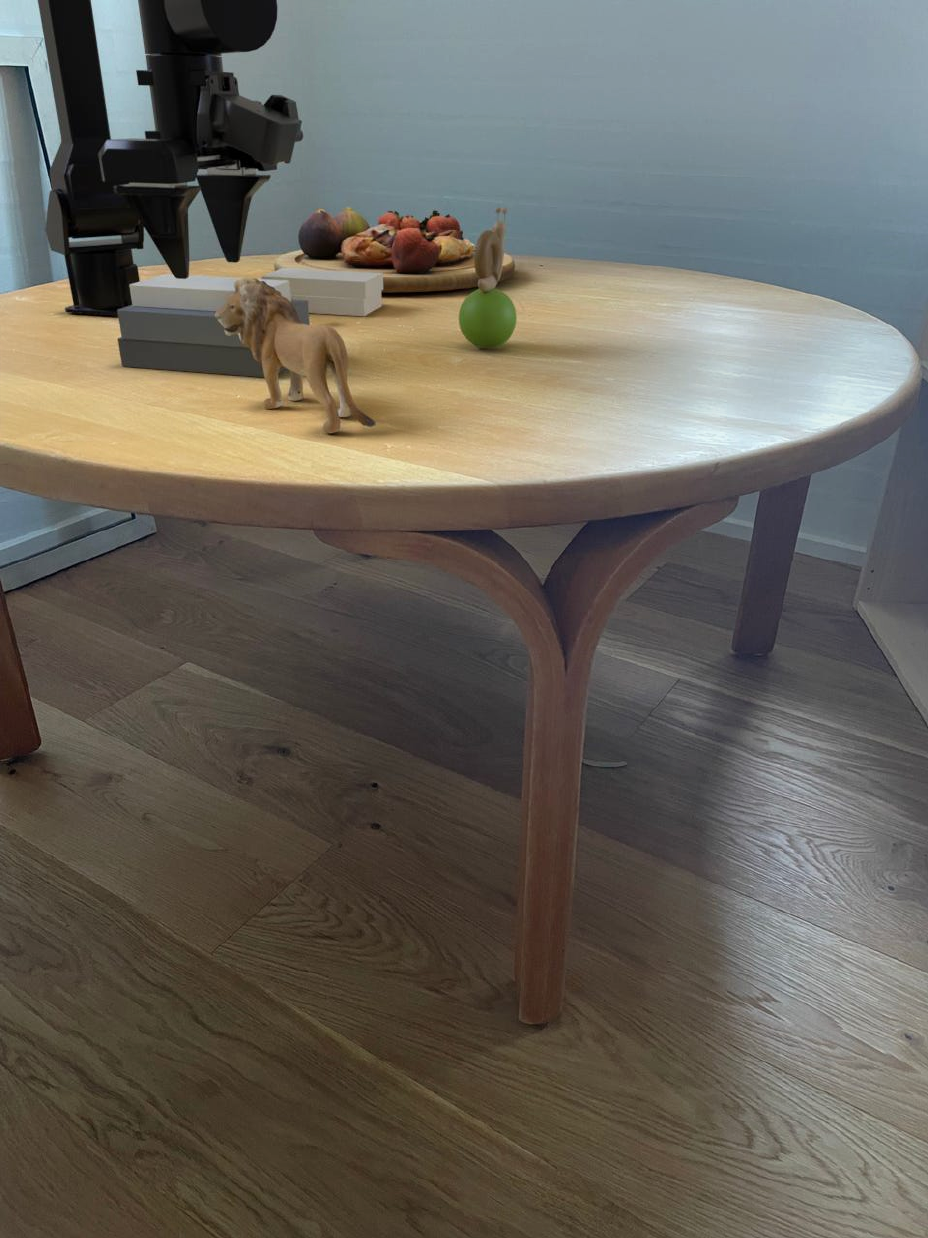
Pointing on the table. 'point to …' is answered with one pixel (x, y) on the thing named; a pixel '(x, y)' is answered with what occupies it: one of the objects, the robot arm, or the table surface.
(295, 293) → the light grey block
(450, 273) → the wooden plate
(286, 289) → the white rectangular block
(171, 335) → the dark grey box
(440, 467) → the table surface
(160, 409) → the table surface
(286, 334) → the lion figurine
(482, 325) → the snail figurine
